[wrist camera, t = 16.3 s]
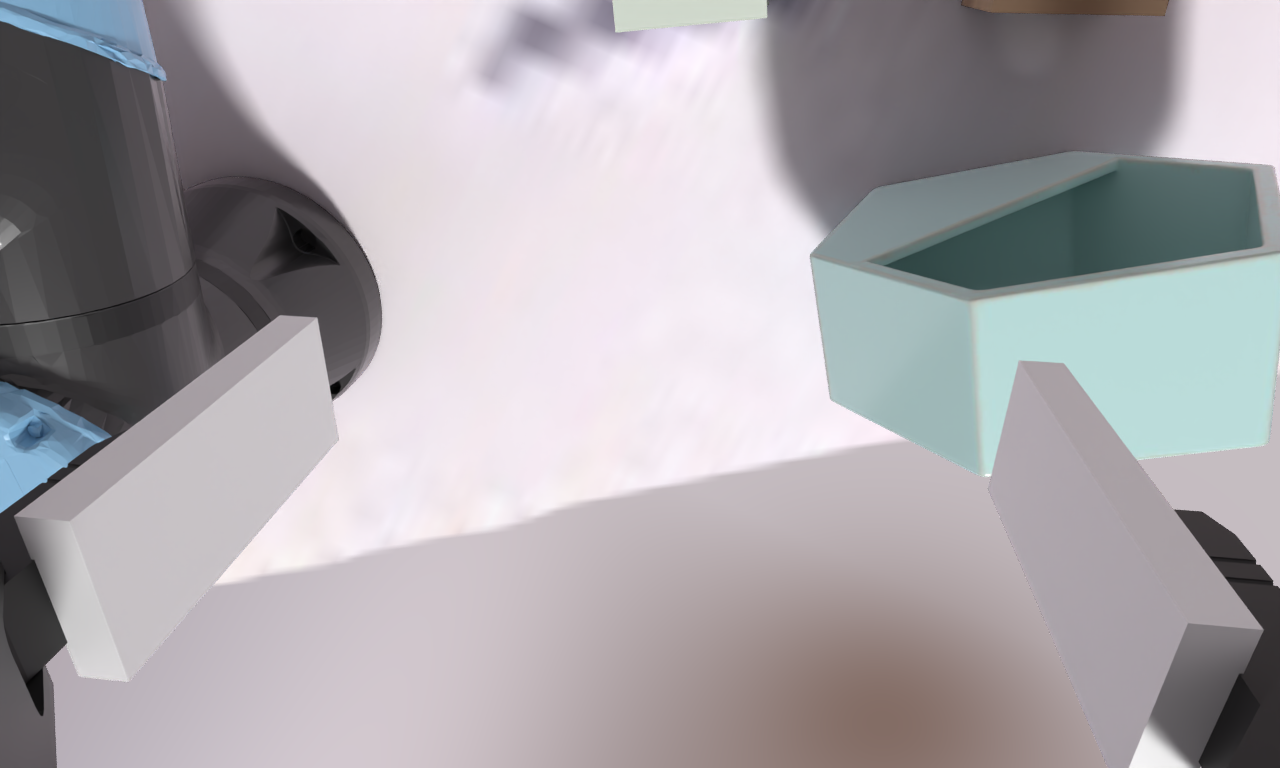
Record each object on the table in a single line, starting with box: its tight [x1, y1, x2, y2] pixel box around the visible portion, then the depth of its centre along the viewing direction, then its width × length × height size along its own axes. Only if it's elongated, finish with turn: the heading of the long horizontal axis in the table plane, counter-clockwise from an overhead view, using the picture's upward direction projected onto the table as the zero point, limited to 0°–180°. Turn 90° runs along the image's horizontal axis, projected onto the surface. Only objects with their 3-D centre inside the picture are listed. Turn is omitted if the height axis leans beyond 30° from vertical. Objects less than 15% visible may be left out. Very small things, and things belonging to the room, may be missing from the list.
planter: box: [810, 151, 1280, 477], centre depth 38 cm, size 17×8×21 cm
